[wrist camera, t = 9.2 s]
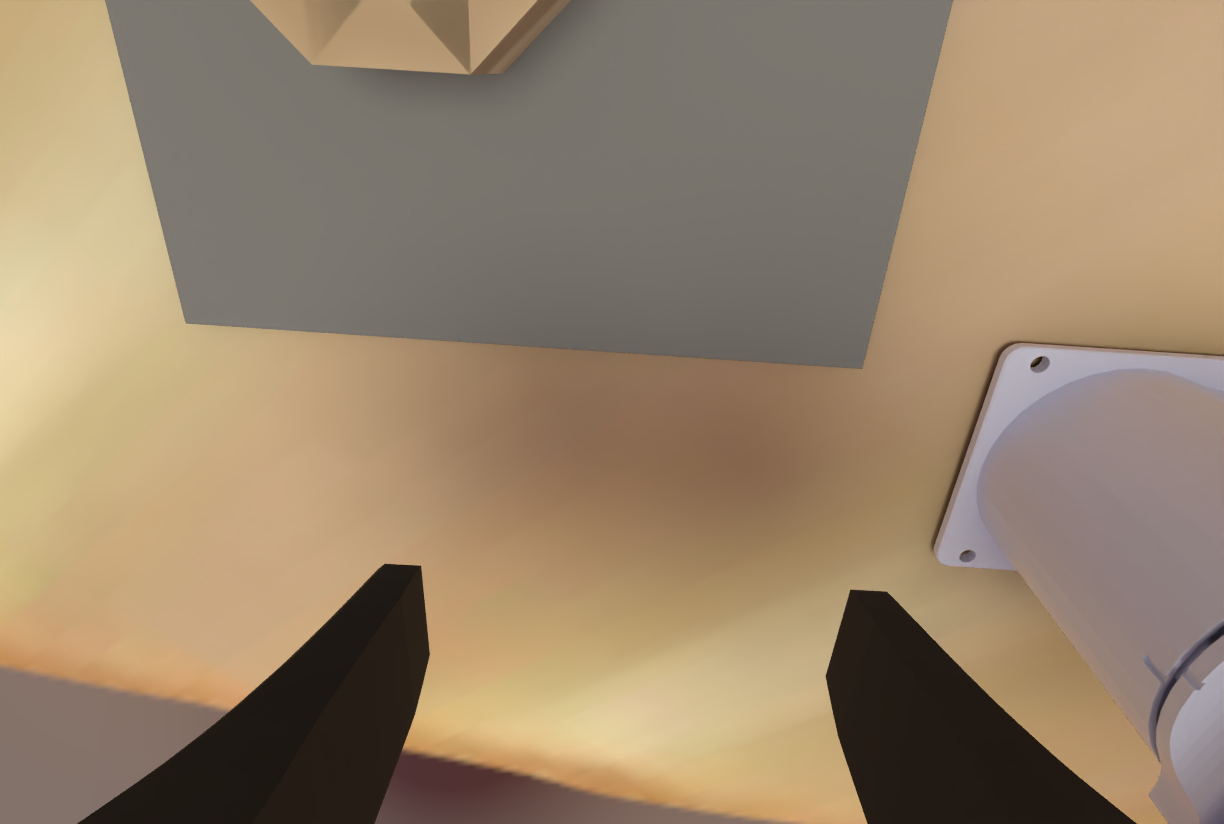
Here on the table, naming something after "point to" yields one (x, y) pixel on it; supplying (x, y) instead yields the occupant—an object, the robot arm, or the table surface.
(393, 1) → the beech bead
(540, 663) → the table surface
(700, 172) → the charcoal mat
